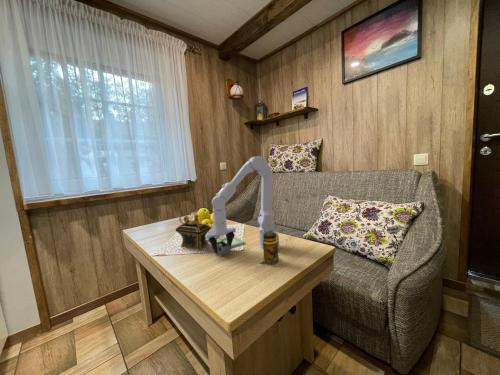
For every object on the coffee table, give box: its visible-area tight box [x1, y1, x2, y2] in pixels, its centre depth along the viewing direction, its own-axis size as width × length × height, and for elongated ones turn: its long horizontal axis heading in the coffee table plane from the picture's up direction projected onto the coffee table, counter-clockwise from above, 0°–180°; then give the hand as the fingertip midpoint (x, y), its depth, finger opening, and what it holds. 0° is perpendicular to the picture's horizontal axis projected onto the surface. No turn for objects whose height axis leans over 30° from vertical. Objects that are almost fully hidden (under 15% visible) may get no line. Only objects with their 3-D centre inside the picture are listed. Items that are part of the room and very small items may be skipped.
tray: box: [216, 236, 246, 249], centre depth 112 cm, size 13×10×2 cm
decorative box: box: [175, 208, 212, 251], centre depth 112 cm, size 20×10×20 cm, turn 61°
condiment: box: [259, 232, 283, 267], centre depth 89 cm, size 7×8×12 cm
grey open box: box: [217, 241, 232, 258], centre depth 101 cm, size 9×4×4 cm, turn 33°
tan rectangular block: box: [213, 243, 233, 259], centre depth 100 cm, size 9×6×4 cm, turn 33°
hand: (222, 250), depth 100 cm, fingers open, 6 cm apart
